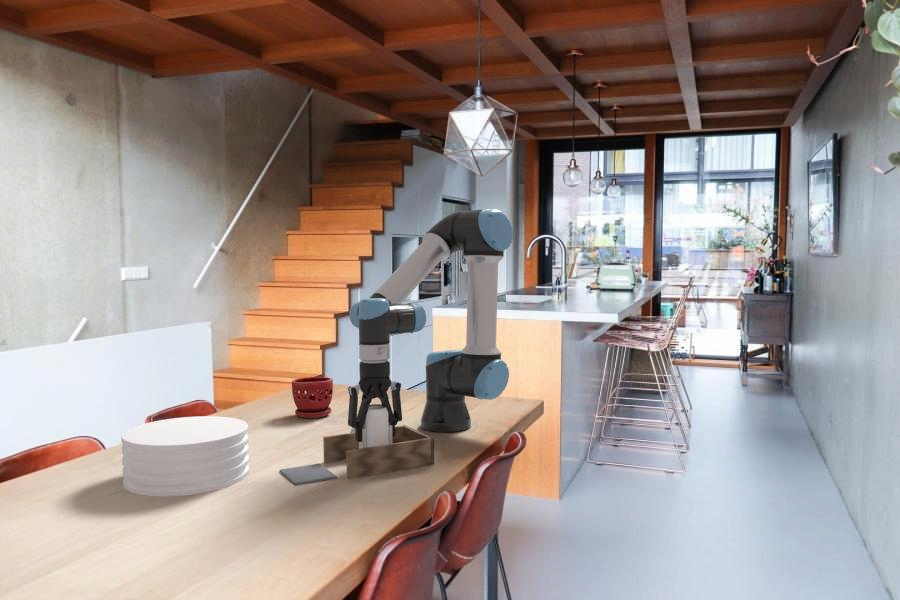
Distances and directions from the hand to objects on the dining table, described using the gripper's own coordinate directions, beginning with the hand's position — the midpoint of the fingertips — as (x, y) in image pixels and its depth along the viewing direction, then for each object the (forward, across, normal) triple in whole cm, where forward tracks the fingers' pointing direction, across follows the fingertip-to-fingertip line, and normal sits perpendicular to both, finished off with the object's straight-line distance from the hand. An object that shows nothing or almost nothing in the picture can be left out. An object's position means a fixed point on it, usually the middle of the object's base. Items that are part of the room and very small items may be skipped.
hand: (375, 451), depth 181 cm
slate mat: (+3, -18, 0) cm, 18 cm away
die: (+3, +4, +15) cm, 16 cm away
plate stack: (+3, -42, +14) cm, 45 cm away
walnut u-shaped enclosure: (+3, +1, 0) cm, 3 cm away
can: (+1, 0, 0) cm, 1 cm away
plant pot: (+3, +5, +60) cm, 60 cm away
